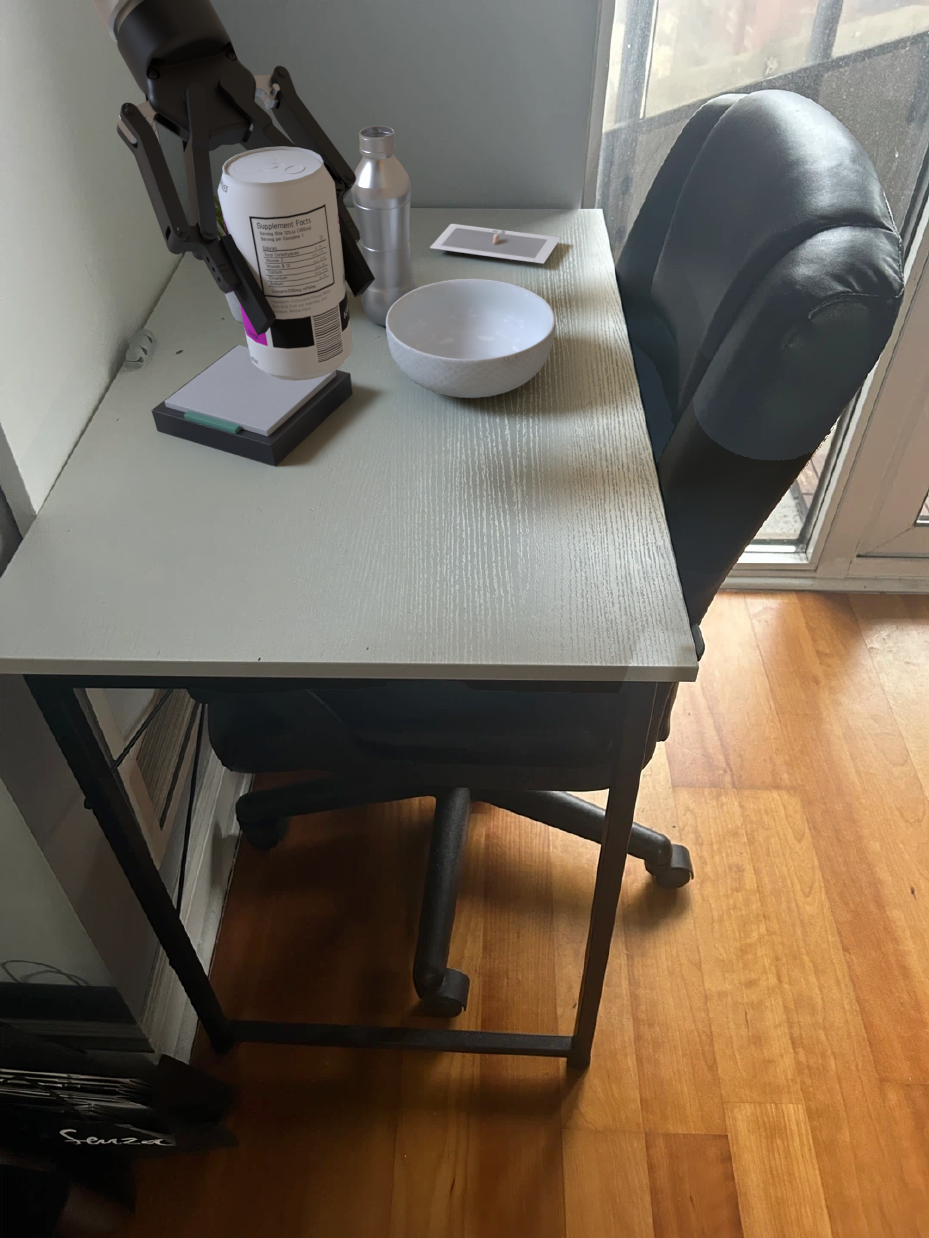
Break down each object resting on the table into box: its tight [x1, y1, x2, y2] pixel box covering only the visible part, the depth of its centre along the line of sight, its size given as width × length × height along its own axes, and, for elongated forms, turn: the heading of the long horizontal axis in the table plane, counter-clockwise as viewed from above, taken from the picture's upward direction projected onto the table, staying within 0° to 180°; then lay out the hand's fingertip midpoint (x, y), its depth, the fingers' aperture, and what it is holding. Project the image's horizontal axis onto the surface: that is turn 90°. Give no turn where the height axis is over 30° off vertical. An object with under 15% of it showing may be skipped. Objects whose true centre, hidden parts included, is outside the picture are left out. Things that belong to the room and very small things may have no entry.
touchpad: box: [429, 223, 561, 265], centre depth 120 cm, size 8×15×2 cm, turn 70°
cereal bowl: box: [385, 278, 557, 399], centre depth 96 cm, size 17×17×7 cm
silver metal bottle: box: [350, 125, 418, 327], centre depth 101 cm, size 6×7×20 cm
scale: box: [151, 344, 354, 467], centre depth 94 cm, size 14×14×3 cm
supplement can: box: [217, 146, 354, 381], centre depth 71 cm, size 8×8×15 cm
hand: (317, 306), depth 70 cm, fingers closed on supplement can, 8 cm apart
